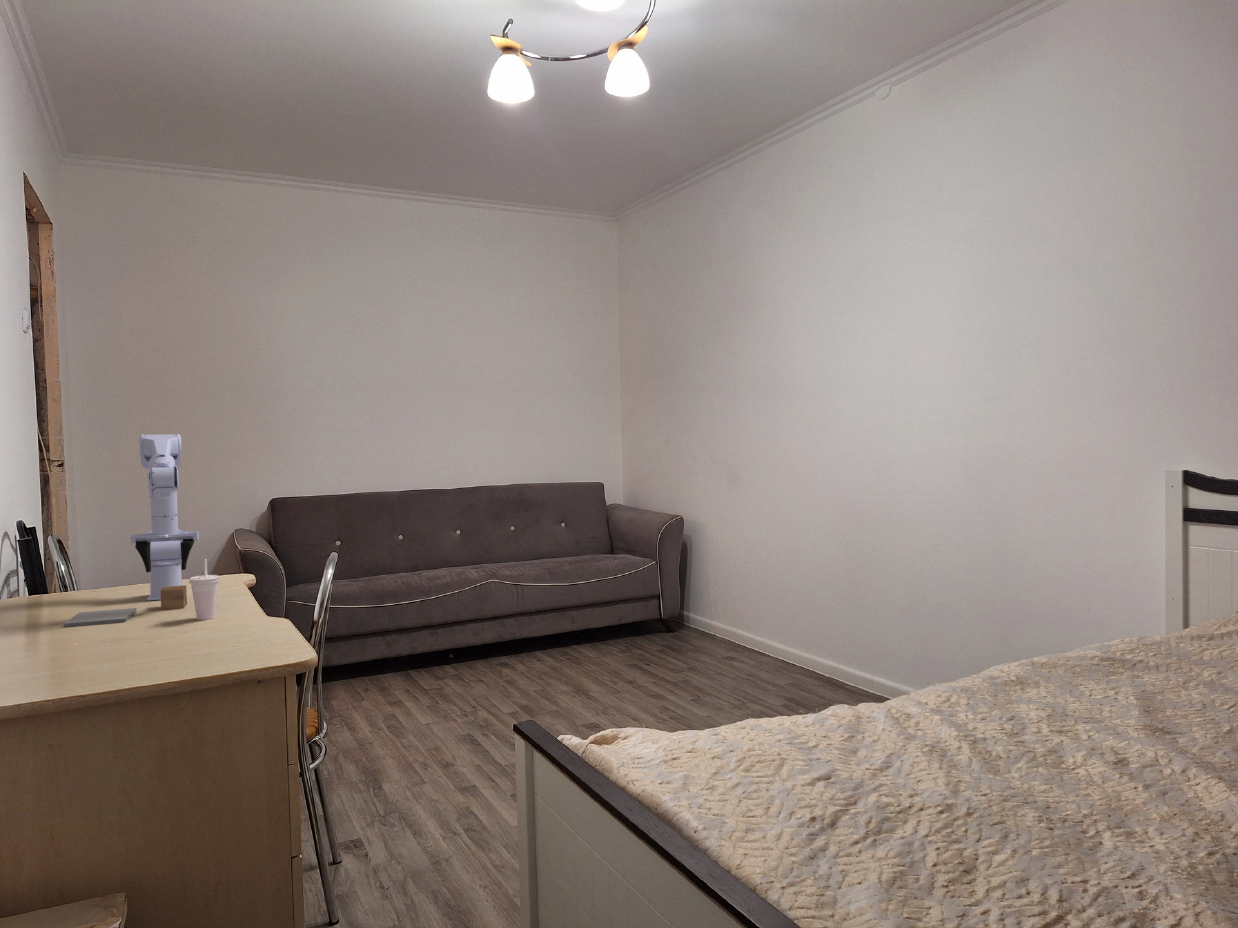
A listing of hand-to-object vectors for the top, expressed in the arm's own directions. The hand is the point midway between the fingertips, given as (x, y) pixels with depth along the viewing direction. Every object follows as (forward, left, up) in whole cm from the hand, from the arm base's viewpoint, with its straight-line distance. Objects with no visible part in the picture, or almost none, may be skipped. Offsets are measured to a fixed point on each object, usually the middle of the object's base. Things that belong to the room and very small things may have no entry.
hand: (166, 570), depth 196 cm
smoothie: (+14, +10, -10) cm, 20 cm away
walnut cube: (-3, +1, -10) cm, 10 cm away
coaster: (+5, -13, -10) cm, 17 cm away
